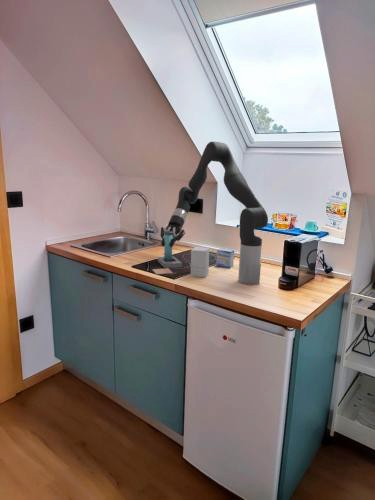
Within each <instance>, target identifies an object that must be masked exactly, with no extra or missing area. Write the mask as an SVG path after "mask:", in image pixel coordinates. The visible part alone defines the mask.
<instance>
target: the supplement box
mask: <svg viewBox="0 0 375 500" xmlns="http://www.w3.org/2000/svg"><path fill="white" fill-rule="evenodd" d="M209 265H210V248H209V247H199V246H194V247H193V248H192V249H191V250H190V276H191V277H200V278H207V276H208V275H209V270H210V269H209V267H210V266H209Z"/></svg>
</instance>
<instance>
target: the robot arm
mask: <svg viewBox="0 0 375 500" xmlns="http://www.w3.org/2000/svg"><path fill="white" fill-rule="evenodd" d="M211 162H218V163H220V164H221V165H222V167H223V169H224V174H223V183H224V186H225V188H226V189H227V191H228V193H229V194H230V195H231V197H233V198H234V199H235V200H237V202H239V203H240V204H242V205H243V206H244V208H243V209H242V211H241V212H240V215H239V239H240V244H239V245H240V247H239V248H240V249H239V264H238V277H237V278H238V279H237V281H238V282H239V283H241V284H245V285H247V286H250V285H260V280H261V267H262V266H261V265H262V263H261V259H262V245H263V244H262V243H263V239H262V238H261V237H260V236H256V235H255V230H260V229H263V228H265V227H266V226H267V225H268V223H269V218H268V217H269V216H268V214H267V211H266V210H265V208H264V206H263V205H262V204H261V203H260V202H259V200H258V199H257V197H256V196H255V194H254V192H253V191H252V189H251V188H250V186H249V184H248V183H247V181H246V179H245V177H244V175H243V174H242V172H241V170H240V169H239V166H238V165H237V163H236V161H235V159H234V157H233V154H232V151H231V149H230V147H229V146H228V144H226V143H225V142H220V141H210V142H208V143H207V144H206V146H205V147H204V150H203V152H202V155H201V157H200V159H199V163H198V165H197V168H196V170H195V172H194V174H192V176H191V178H190V179H189V182H188V185H187V186H188V187H187V186H183V187H181V188H180V189H179V193H178V200H177V204H176V207H175V209H174V211H172V214H171V217H170V219H169V221H168V225H167V226H165V227H160V238H161V239H162V240H161V242H160V244H161V247H164V241H165V234H164V231H173V234H172V240H171V242H170V244H169V246H170V247H172V248H173V247H174V245H175V242H177V241H178V242H180V240H182V238H183V237H184V235H185V234H186V231H185V230H184V229H183V228H184V224H185V222H186V221H187V220H186V219H187V216H188V214H189V211H190V208H191V206H190V204H191V205H193V204H195V203H196V202H197V200H198V197H199V194H200V190H201V189H202V187H203V185H204V184H205V183H206V181H207V178H208V166H209V164H210V163H211Z"/></svg>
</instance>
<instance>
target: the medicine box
mask: <svg viewBox="0 0 375 500" xmlns="http://www.w3.org/2000/svg"><path fill="white" fill-rule="evenodd" d="M234 258H235V250H232V249H226V248H225V249H224V248H219V249H217V250H216V260H215V261H216V262H215V263H216V265H215V266H216V267H219V268H226V269H231V268H233V267H234V262H235V261H234Z"/></svg>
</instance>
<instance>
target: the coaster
mask: <svg viewBox="0 0 375 500" xmlns="http://www.w3.org/2000/svg"><path fill="white" fill-rule="evenodd" d="M152 271H153V272H154V273H155V274H156V275H164V274H166V275H167V274H173V271H172V270H171V269H170V268H154V269H152Z"/></svg>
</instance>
